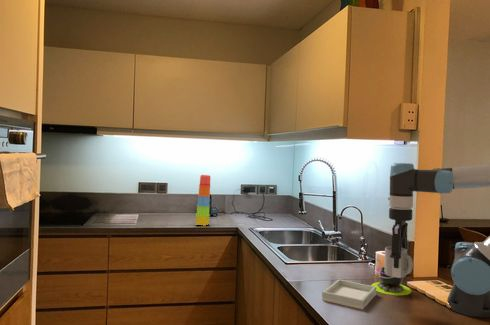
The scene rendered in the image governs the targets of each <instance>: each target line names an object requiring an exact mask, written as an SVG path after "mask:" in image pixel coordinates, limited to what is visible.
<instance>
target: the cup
mask: <svg viewBox="0 0 490 325" xmlns="http://www.w3.org/2000/svg"><path fill="white" fill-rule="evenodd" d="M407 250H408V249H405V248H401V277H403V278H405V277H406V276H407V275H409V274H411V273H412V272H413V268H414V262H413V258H412V257H411V256H410V255H409V254H408V253H407ZM391 251H392V246H386V247H385V248H384V267H385V274H386V275H388V276H391V277H392V262H393V258H391V257H390V255H391Z"/></svg>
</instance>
